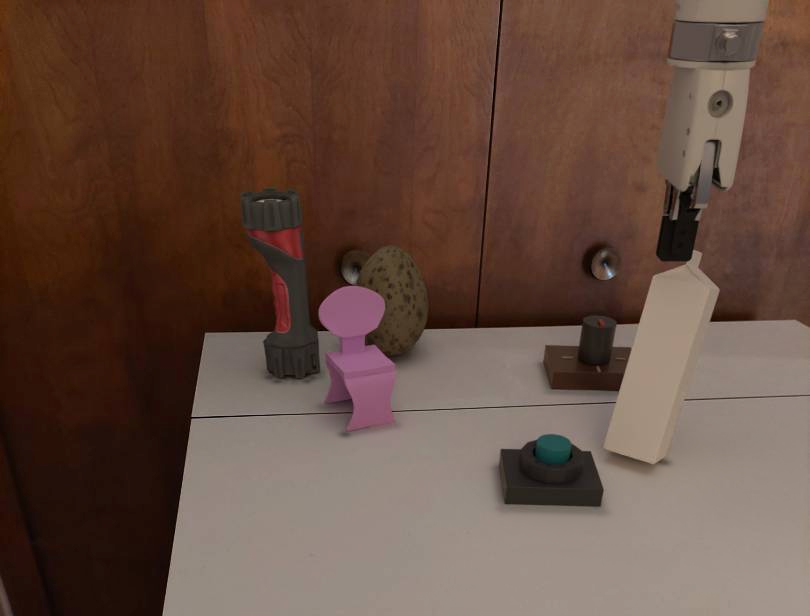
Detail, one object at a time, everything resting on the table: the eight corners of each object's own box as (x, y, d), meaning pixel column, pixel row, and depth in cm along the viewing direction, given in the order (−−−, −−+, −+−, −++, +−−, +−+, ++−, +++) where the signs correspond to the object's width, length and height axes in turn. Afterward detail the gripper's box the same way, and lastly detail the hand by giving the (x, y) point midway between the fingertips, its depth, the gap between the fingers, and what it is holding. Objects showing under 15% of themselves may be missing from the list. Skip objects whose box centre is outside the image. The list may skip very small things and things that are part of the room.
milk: (665, 457, 92) (732, 259, 84) (653, 465, 87) (722, 254, 79) (615, 441, 95) (675, 247, 87) (600, 448, 90) (662, 242, 82)
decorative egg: (441, 353, 115) (447, 247, 107) (389, 375, 109) (390, 263, 100) (388, 333, 121) (389, 230, 113) (336, 352, 115) (332, 245, 106)
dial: (574, 351, 110) (580, 312, 107) (606, 352, 110) (613, 313, 107) (580, 364, 107) (586, 324, 104) (613, 365, 107) (620, 325, 104)
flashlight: (245, 369, 110) (226, 191, 96) (291, 355, 114) (279, 182, 101) (278, 388, 105) (263, 203, 92) (325, 372, 109) (317, 193, 96)
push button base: (587, 468, 90) (593, 436, 88) (600, 507, 83) (606, 474, 81) (498, 465, 90) (502, 434, 88) (504, 504, 83) (508, 471, 81)
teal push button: (566, 448, 86) (568, 434, 85) (571, 465, 83) (573, 451, 82) (533, 447, 86) (535, 433, 85) (536, 464, 83) (538, 450, 82)
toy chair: (340, 434, 95) (336, 311, 86) (316, 403, 102) (310, 286, 93) (404, 422, 98) (406, 301, 89) (376, 393, 104) (376, 278, 96)
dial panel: (627, 363, 114) (631, 345, 112) (641, 391, 106) (645, 372, 105) (543, 361, 114) (545, 343, 112) (551, 388, 106) (553, 370, 105)
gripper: (789, 54, 64) (734, 283, 75) (729, 39, 76) (689, 238, 87) (694, 54, 64) (653, 283, 75) (650, 39, 76) (620, 238, 87)
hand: (673, 258), depth 81 cm, fingers closed
